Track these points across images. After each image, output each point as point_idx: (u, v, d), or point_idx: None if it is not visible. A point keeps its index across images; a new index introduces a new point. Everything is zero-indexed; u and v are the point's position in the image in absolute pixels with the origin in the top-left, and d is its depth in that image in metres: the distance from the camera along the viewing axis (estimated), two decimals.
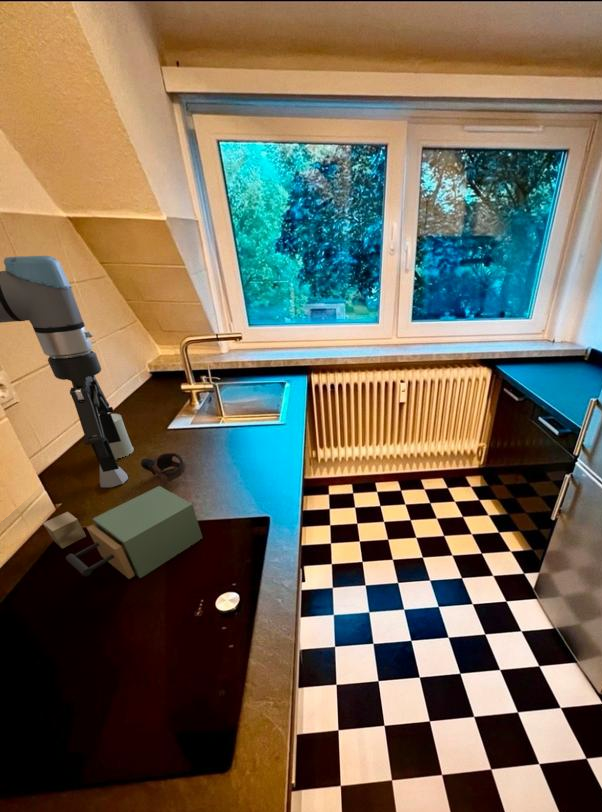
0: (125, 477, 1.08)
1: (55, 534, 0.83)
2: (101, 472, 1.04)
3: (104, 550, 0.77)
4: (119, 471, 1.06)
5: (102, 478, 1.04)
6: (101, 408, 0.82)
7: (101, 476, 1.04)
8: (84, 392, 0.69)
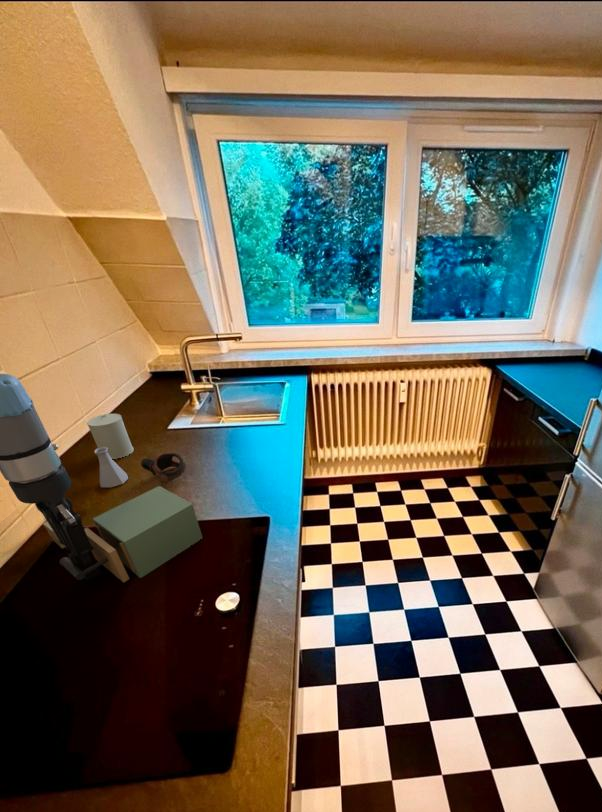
0: (125, 477, 1.08)
1: (55, 534, 0.83)
2: (101, 472, 1.04)
3: (98, 553, 0.76)
4: (119, 471, 1.06)
5: (102, 478, 1.04)
6: None
7: (101, 476, 1.04)
8: (79, 520, 0.65)
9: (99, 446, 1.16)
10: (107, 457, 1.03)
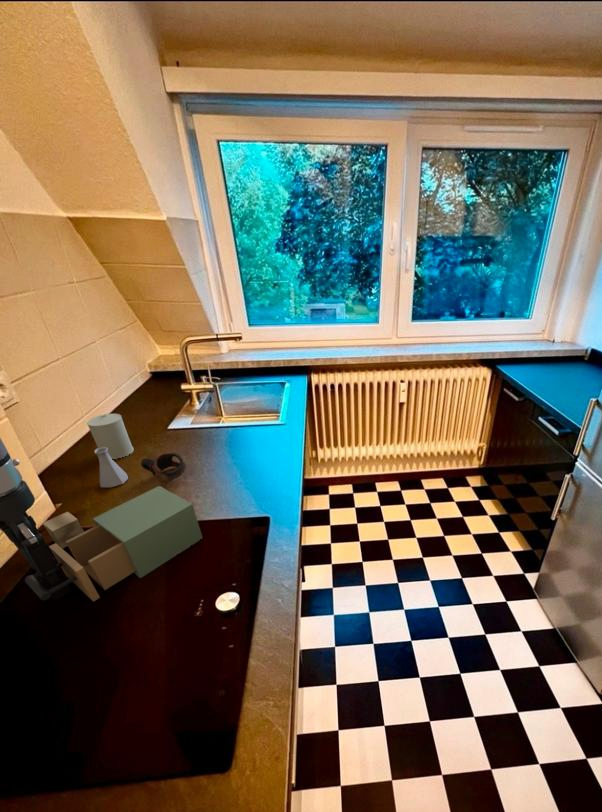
0: (125, 477, 1.08)
1: (55, 534, 0.83)
2: (101, 472, 1.04)
3: (67, 570, 0.73)
4: (119, 471, 1.06)
5: (102, 478, 1.04)
6: None
7: (101, 476, 1.04)
8: (41, 540, 0.61)
9: (99, 446, 1.16)
10: (107, 457, 1.03)
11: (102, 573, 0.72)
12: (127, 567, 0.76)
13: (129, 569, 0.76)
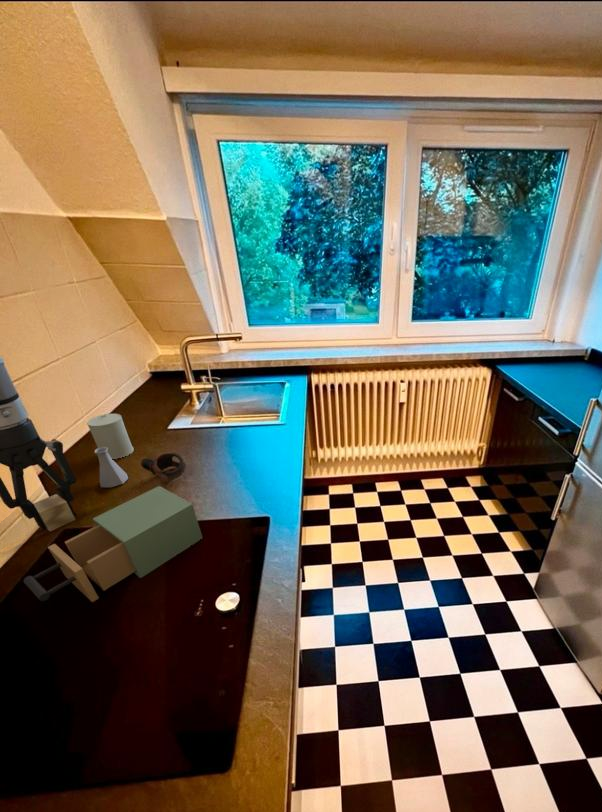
0: (125, 477, 1.08)
1: (42, 516, 0.80)
2: (101, 472, 1.04)
3: (66, 571, 0.72)
4: (119, 471, 1.06)
5: (102, 478, 1.04)
6: (54, 481, 0.82)
7: (101, 476, 1.04)
8: None
9: (99, 446, 1.16)
10: (107, 457, 1.03)
11: (100, 573, 0.72)
12: (126, 568, 0.75)
13: (128, 570, 0.76)
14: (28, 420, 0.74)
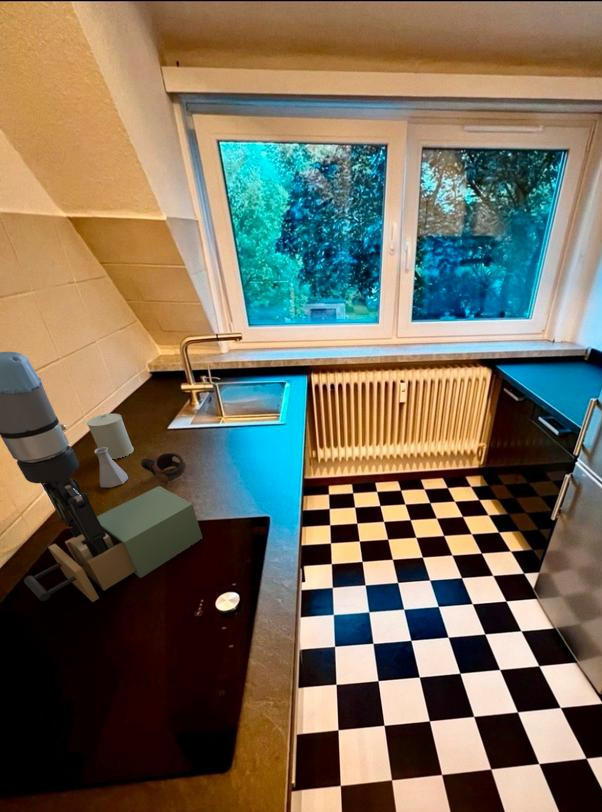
0: (125, 477, 1.08)
1: (110, 539, 0.74)
2: (101, 472, 1.04)
3: (66, 571, 0.72)
4: (119, 471, 1.06)
5: (102, 478, 1.04)
6: None
7: (101, 476, 1.04)
8: (85, 498, 0.64)
9: (99, 446, 1.16)
10: (107, 457, 1.03)
11: (101, 573, 0.72)
12: (126, 567, 0.75)
13: (128, 569, 0.76)
14: None
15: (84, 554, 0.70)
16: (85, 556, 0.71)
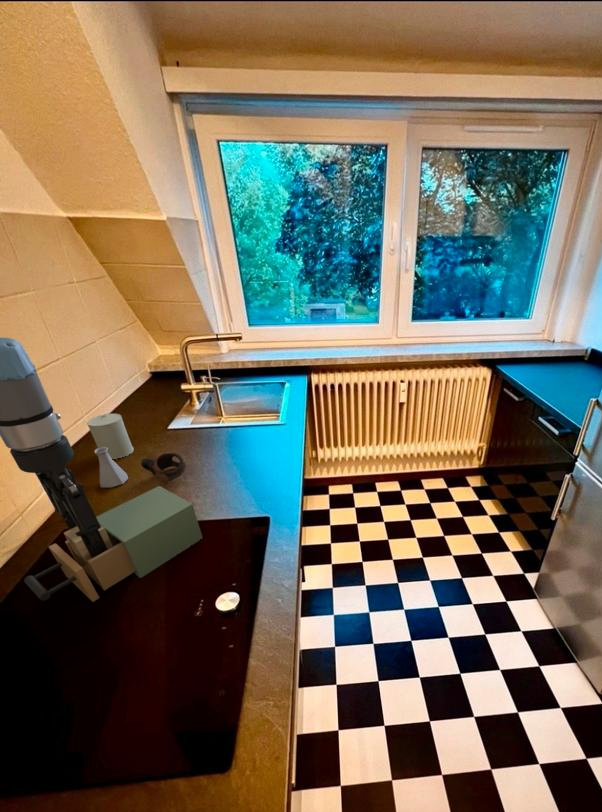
0: (125, 477, 1.08)
1: (105, 531, 0.73)
2: (101, 472, 1.04)
3: (67, 571, 0.72)
4: (119, 471, 1.06)
5: (102, 478, 1.04)
6: None
7: (101, 476, 1.04)
8: (80, 488, 0.63)
9: (99, 446, 1.16)
10: (107, 457, 1.03)
11: (101, 573, 0.72)
12: (127, 567, 0.76)
13: (129, 569, 0.76)
14: None
15: (78, 546, 0.69)
16: (80, 548, 0.70)
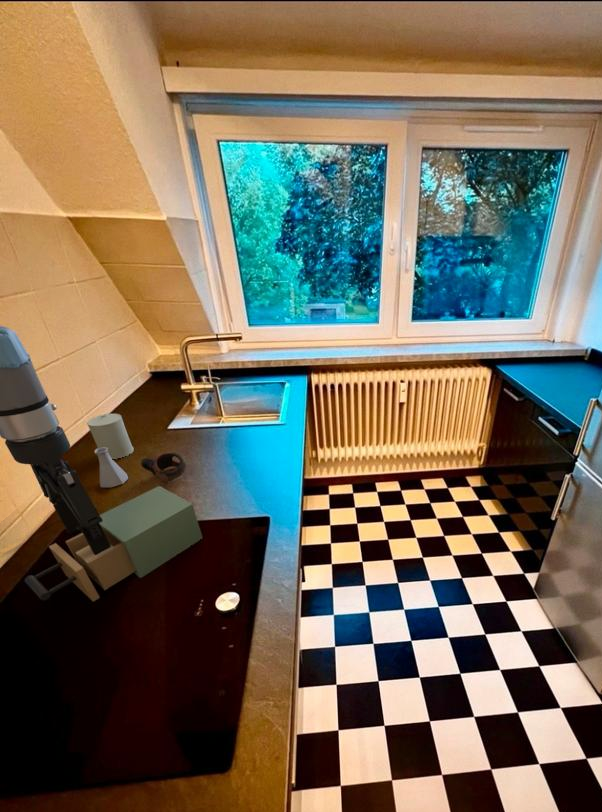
0: (125, 477, 1.08)
1: None
2: (101, 472, 1.04)
3: (67, 570, 0.73)
4: (119, 471, 1.06)
5: (102, 478, 1.04)
6: (60, 493, 0.71)
7: (101, 476, 1.04)
8: (74, 475, 0.61)
9: (99, 446, 1.16)
10: (107, 457, 1.03)
11: (101, 573, 0.72)
12: (127, 567, 0.76)
13: (129, 569, 0.76)
14: None
15: (90, 566, 0.72)
16: None
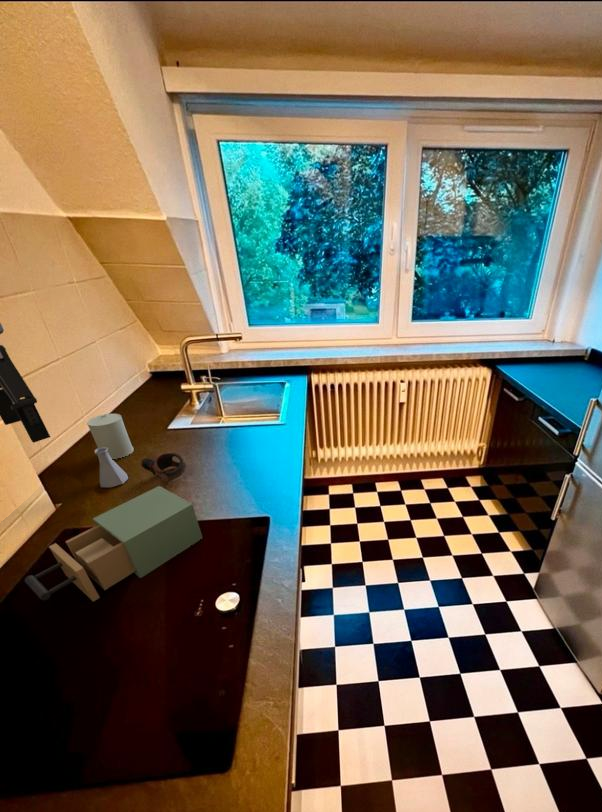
0: (125, 477, 1.08)
1: None
2: (101, 472, 1.04)
3: (67, 570, 0.73)
4: (119, 471, 1.06)
5: (102, 478, 1.04)
6: None
7: (101, 476, 1.04)
8: (2, 349, 0.62)
9: (99, 446, 1.16)
10: (107, 457, 1.03)
11: (101, 573, 0.72)
12: (127, 567, 0.76)
13: (129, 569, 0.76)
14: None
15: (90, 566, 0.72)
16: None
